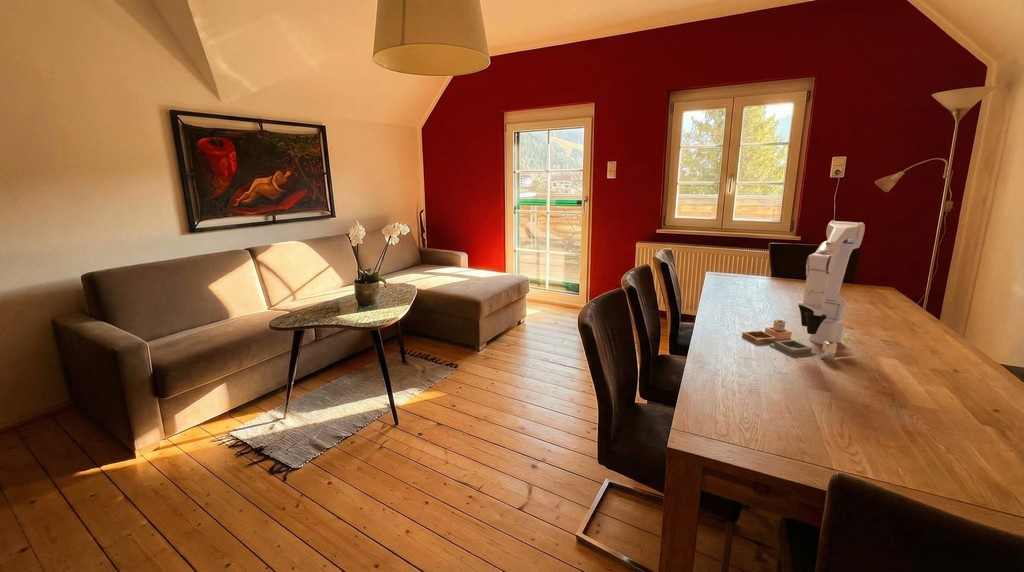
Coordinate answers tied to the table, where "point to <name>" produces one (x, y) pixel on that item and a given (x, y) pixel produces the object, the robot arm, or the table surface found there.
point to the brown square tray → (759, 337)
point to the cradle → (793, 348)
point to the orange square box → (779, 333)
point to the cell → (828, 351)
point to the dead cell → (779, 325)
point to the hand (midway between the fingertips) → (808, 329)
